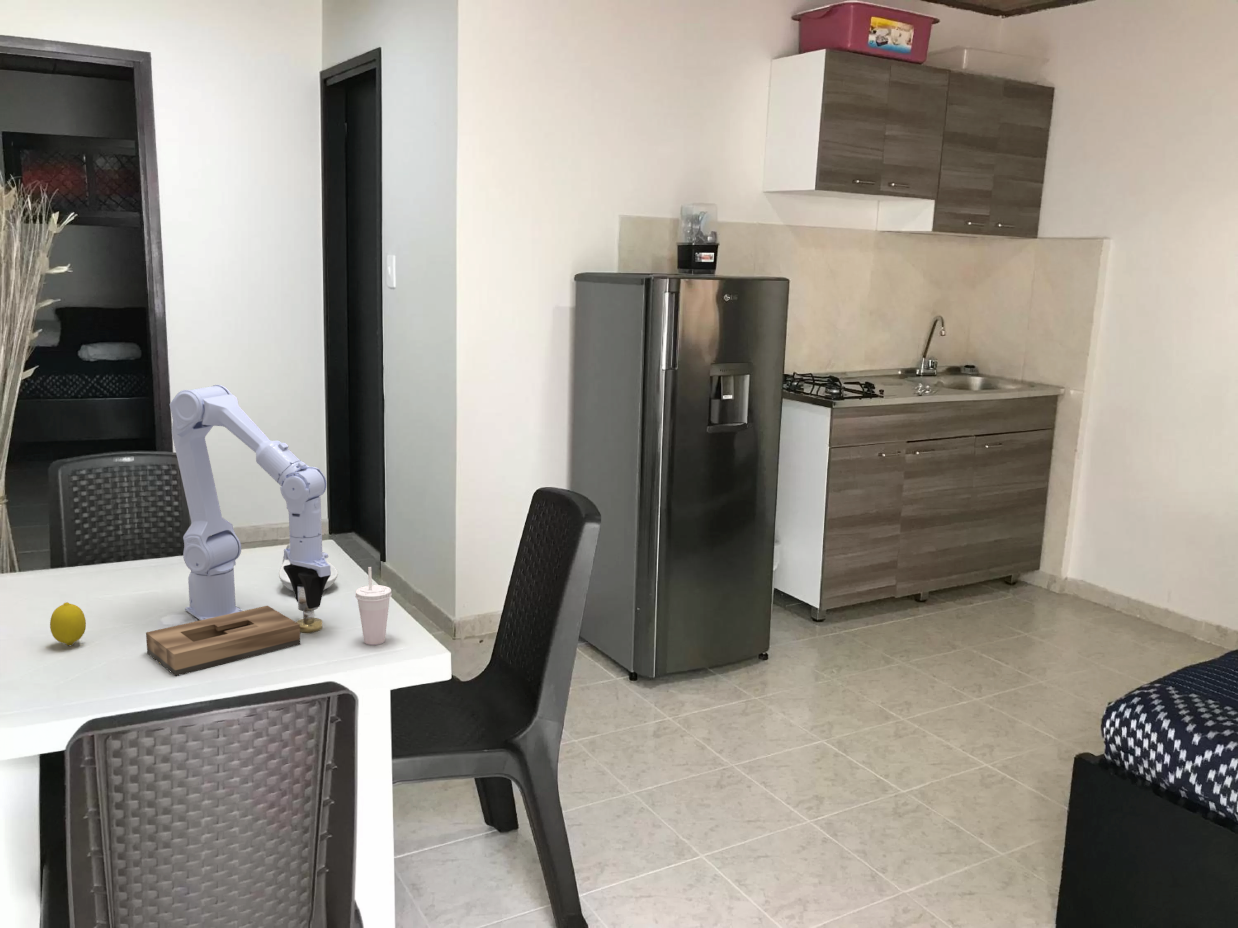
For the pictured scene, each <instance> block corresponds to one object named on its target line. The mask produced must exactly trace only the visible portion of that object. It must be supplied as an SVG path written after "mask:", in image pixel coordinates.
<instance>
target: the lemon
mask: <svg viewBox="0 0 1238 928" xmlns="http://www.w3.org/2000/svg"><path fill="white" fill-rule="evenodd" d="M49 621H50V622H49V628H50V632H51V635H52V637H53V638H54V640H56V641H57V642H59V643H62V644H65V645H66V646H68V645H71V646H73V644H74V643H76V642H78V641H79V640H80V639H81V638H82V637H83V636H84V634H85V631H86V627H87V619H86V616H85V614H84V612H83V610H82V608H80V607H79V606H78V605H76V604H73V603H69V602H68V601H67V602H66V601H65V602H64V603H63V604H61V605H59V606H58V607H56V608H55V609H54V611H53V612H52V613H51V617H50V620H49Z"/></svg>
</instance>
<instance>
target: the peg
mask: <svg viewBox="0 0 1238 928" xmlns="http://www.w3.org/2000/svg"><path fill="white" fill-rule="evenodd" d="M297 587H298V602H297V608H298V610H299V611H301V612H302V618H301V619H298V620H296V621H295V622H296V623H298V624H300V634H301V633H303V634H309V633H316V632H319V631H321V630H323V620H322V618H318V617H315V611H316V610H317V609H319V607H316V608H312V609H309V608H308V606H307V603H306V597H305V591H304V587H303V584H299V585H298V586H297Z"/></svg>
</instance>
